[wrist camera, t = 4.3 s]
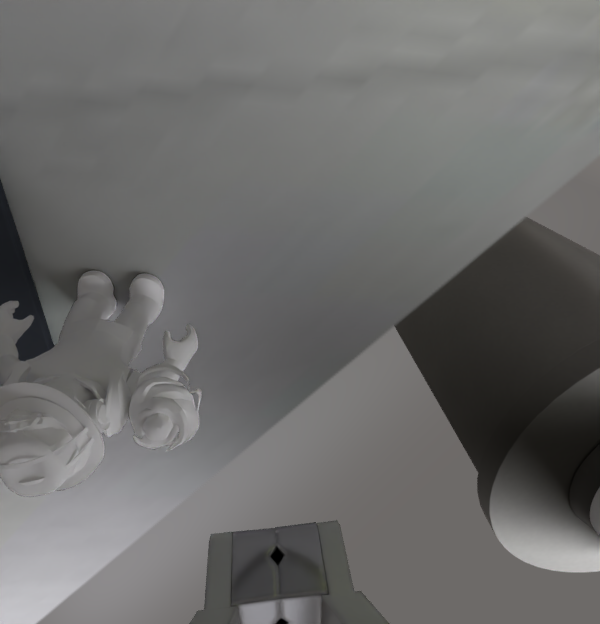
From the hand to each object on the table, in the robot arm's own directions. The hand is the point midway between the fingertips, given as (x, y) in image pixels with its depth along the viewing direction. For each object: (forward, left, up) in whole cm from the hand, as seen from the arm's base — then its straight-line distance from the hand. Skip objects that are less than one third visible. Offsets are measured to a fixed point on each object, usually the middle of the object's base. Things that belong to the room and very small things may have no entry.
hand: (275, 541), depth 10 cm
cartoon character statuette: (+7, 0, -14) cm, 16 cm away
